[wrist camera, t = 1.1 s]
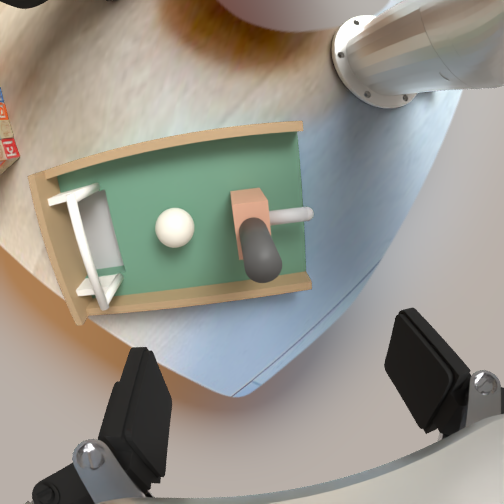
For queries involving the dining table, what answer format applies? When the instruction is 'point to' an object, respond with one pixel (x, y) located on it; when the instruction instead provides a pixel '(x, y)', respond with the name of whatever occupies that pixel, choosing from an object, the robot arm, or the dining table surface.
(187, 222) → the ball
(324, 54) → the dining table surface
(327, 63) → the dining table surface
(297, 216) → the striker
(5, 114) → the stack of blocks
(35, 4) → the coffee press
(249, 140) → the pitch
